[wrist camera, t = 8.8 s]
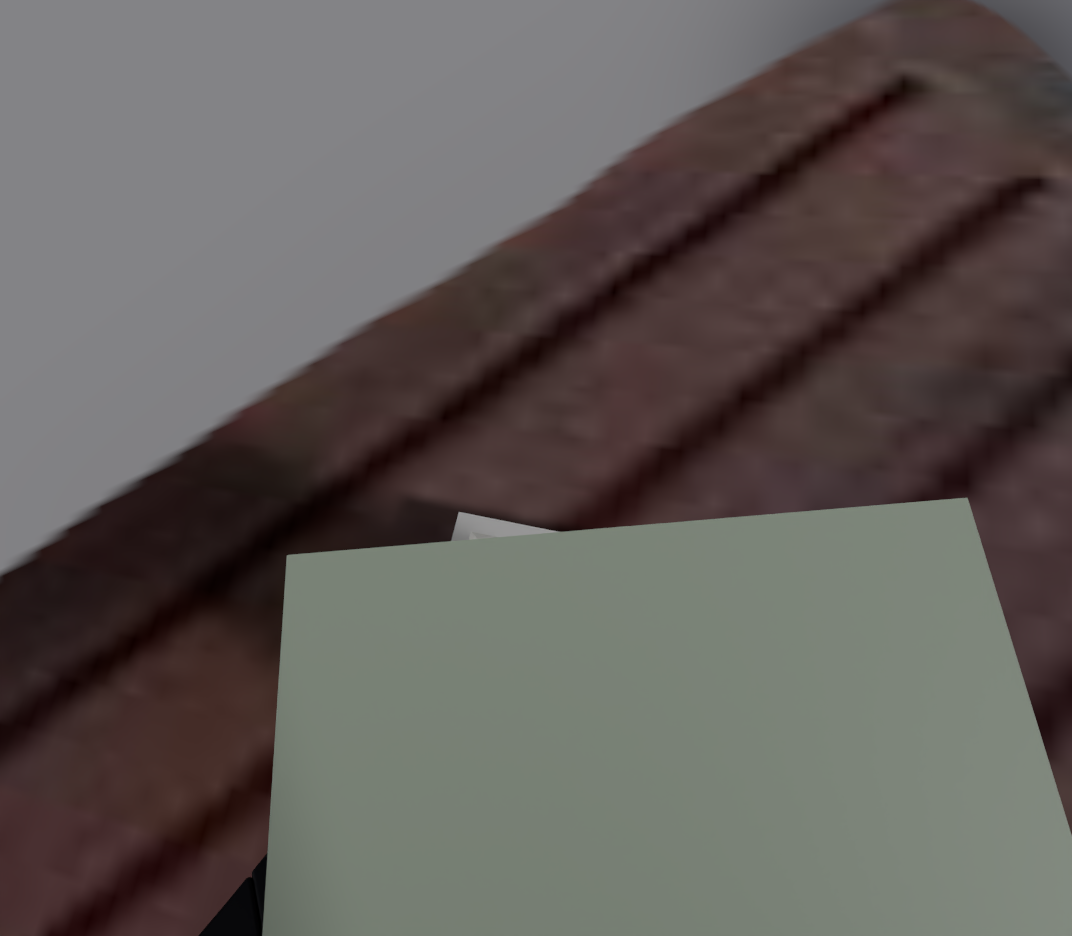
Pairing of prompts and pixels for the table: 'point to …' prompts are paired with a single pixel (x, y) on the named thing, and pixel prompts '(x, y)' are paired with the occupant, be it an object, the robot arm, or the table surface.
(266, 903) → the handle block
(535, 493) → the table surface
